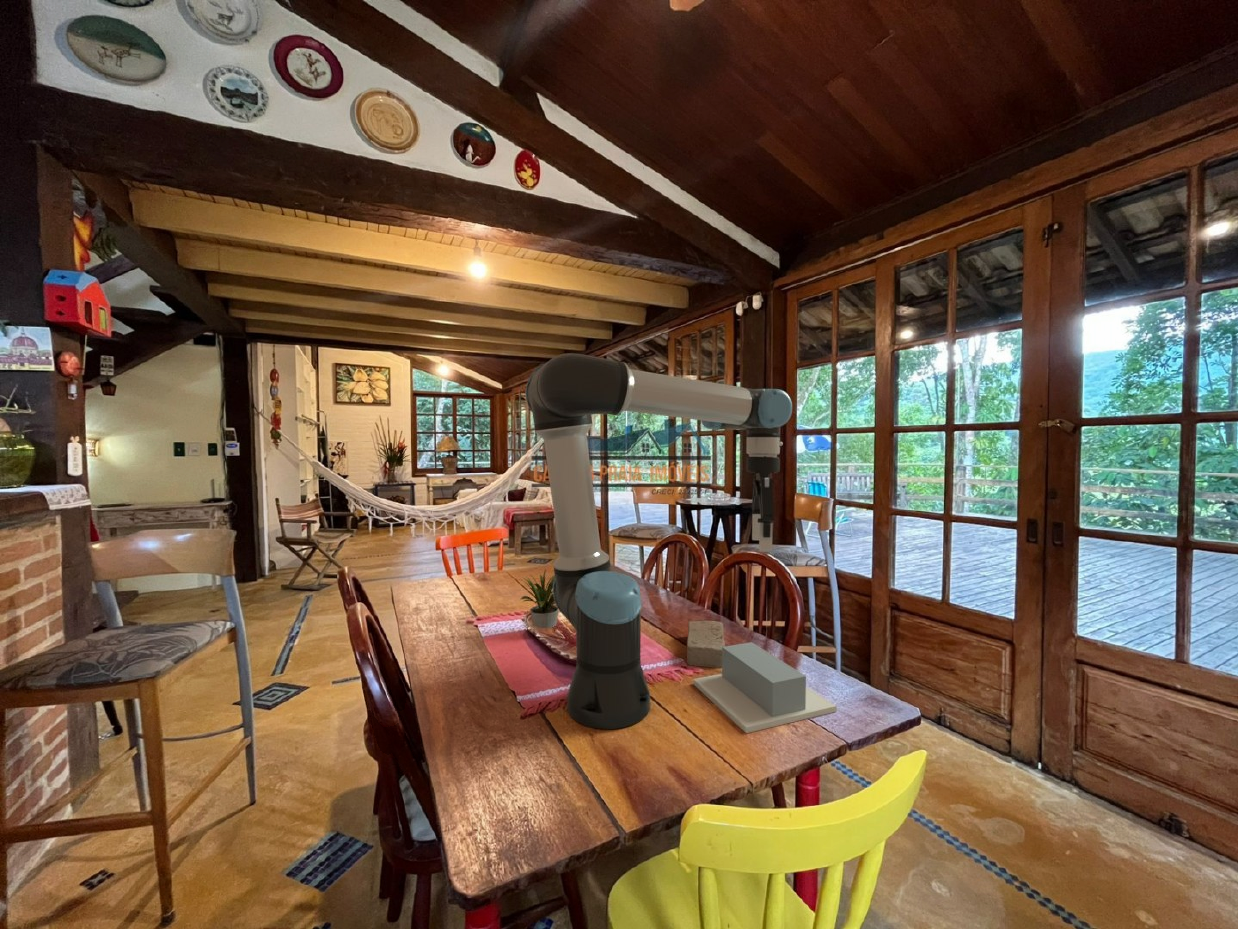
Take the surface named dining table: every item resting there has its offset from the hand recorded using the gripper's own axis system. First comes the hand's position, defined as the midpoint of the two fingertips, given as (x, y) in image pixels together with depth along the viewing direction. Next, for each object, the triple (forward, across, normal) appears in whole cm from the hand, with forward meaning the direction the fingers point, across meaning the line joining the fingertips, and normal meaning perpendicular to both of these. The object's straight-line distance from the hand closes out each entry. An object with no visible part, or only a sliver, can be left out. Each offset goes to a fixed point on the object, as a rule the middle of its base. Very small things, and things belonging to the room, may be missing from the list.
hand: (761, 545), depth 118 cm
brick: (+24, -6, +13) cm, 28 cm away
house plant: (+24, -2, +54) cm, 59 cm away
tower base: (+24, -25, +3) cm, 35 cm away
